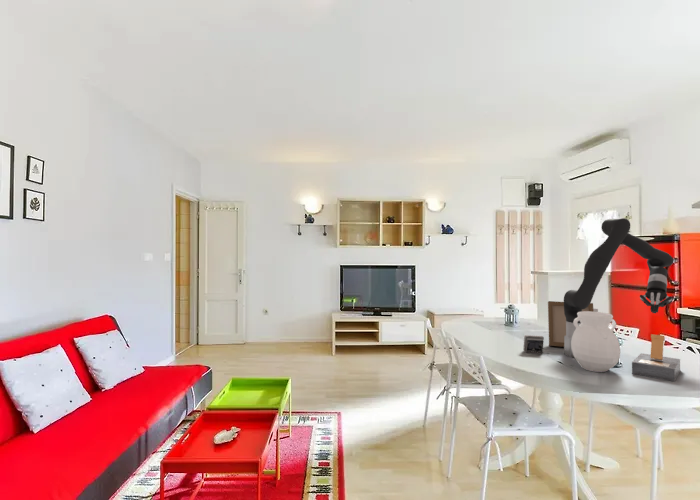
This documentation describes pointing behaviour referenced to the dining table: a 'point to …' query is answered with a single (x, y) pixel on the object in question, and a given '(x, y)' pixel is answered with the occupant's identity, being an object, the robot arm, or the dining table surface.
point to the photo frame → (558, 322)
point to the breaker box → (656, 367)
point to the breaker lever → (657, 347)
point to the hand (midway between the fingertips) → (654, 312)
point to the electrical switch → (533, 344)
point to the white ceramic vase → (595, 341)
